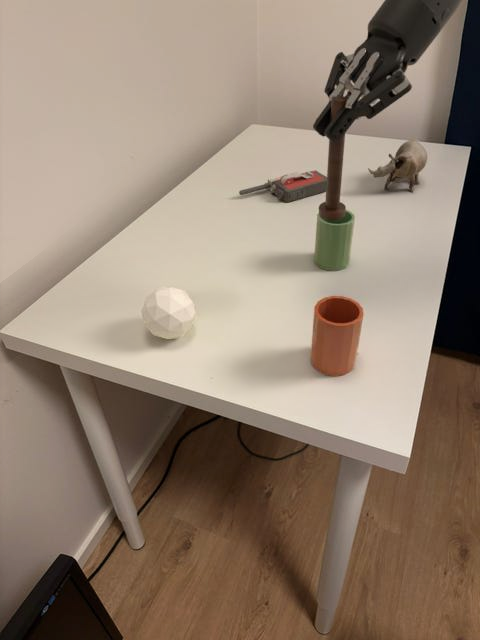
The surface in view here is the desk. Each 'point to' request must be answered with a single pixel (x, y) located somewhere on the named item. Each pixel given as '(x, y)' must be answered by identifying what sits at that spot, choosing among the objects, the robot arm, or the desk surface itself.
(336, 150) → the muddler
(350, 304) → the terracotta cup
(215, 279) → the desk surface
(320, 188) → the walkie-talkie
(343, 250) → the green cup
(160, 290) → the geometric ball
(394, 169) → the rhinoceros figurine
